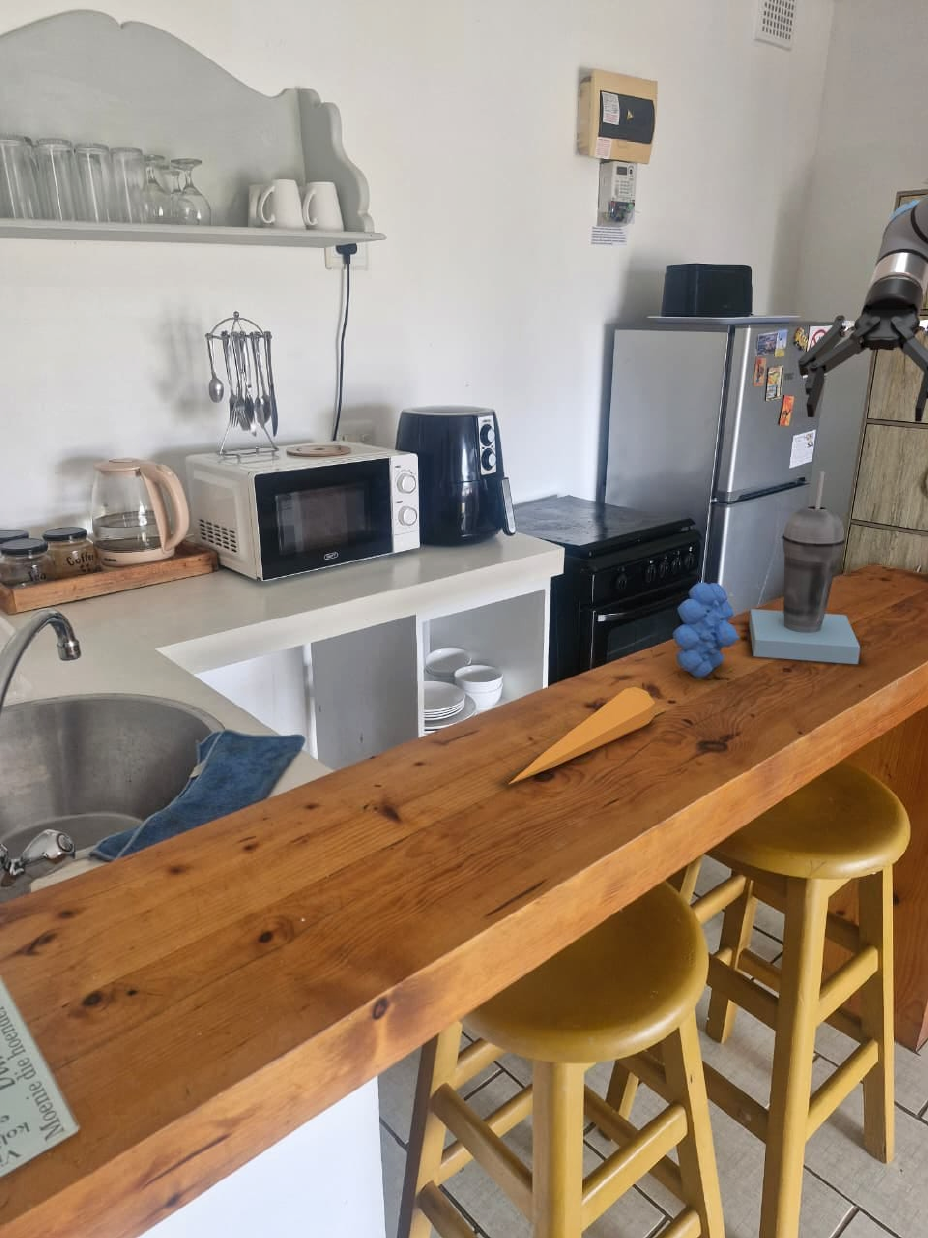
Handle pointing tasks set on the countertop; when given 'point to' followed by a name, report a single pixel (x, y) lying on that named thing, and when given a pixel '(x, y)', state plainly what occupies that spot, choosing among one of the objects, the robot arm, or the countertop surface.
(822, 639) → the foam pad
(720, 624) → the grapes
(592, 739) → the carrot
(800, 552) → the beverage cup
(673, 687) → the countertop surface
